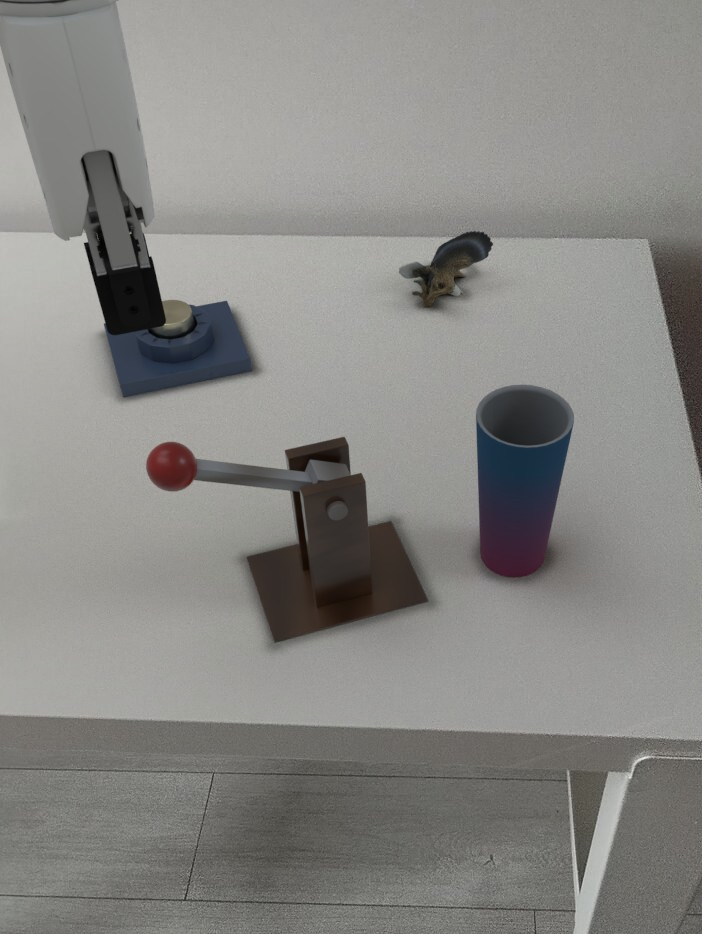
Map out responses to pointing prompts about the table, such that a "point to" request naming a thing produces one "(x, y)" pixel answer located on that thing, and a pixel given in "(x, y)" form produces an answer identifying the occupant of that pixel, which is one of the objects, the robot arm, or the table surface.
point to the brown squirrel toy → (448, 265)
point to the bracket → (332, 556)
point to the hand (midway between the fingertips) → (133, 314)
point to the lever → (230, 471)
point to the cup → (519, 474)
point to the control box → (180, 353)
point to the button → (175, 320)
